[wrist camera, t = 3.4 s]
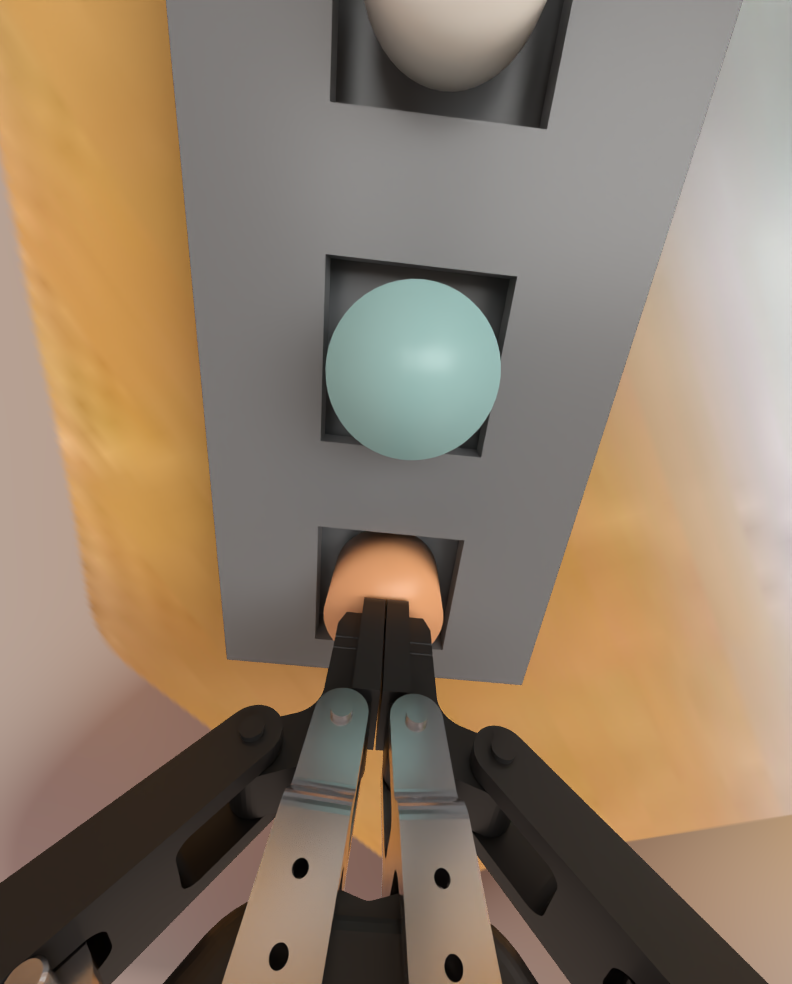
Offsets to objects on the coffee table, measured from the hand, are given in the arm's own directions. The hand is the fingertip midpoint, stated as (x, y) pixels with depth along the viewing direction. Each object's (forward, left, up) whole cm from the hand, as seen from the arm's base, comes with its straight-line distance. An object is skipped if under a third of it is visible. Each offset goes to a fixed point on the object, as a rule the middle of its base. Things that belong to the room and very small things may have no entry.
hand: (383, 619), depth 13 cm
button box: (-8, 0, -4) cm, 9 cm away
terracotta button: (0, 0, -3) cm, 3 cm away
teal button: (-8, 0, -1) cm, 8 cm away
